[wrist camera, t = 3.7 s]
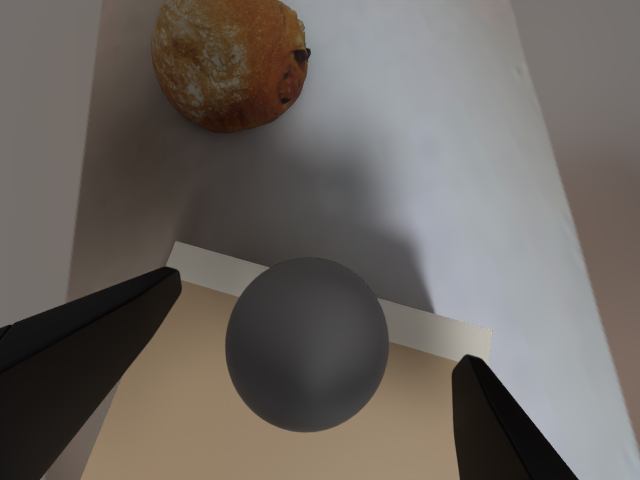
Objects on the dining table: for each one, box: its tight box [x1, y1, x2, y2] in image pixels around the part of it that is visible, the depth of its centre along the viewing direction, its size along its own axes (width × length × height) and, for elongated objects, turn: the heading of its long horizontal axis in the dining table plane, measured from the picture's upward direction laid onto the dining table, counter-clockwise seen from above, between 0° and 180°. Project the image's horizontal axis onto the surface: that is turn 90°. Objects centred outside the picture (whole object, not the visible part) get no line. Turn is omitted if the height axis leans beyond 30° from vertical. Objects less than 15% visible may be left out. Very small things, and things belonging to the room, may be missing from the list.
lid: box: [80, 241, 493, 480], centre depth 8 cm, size 13×14×7 cm
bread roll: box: [151, 0, 311, 133], centre depth 18 cm, size 10×10×8 cm
